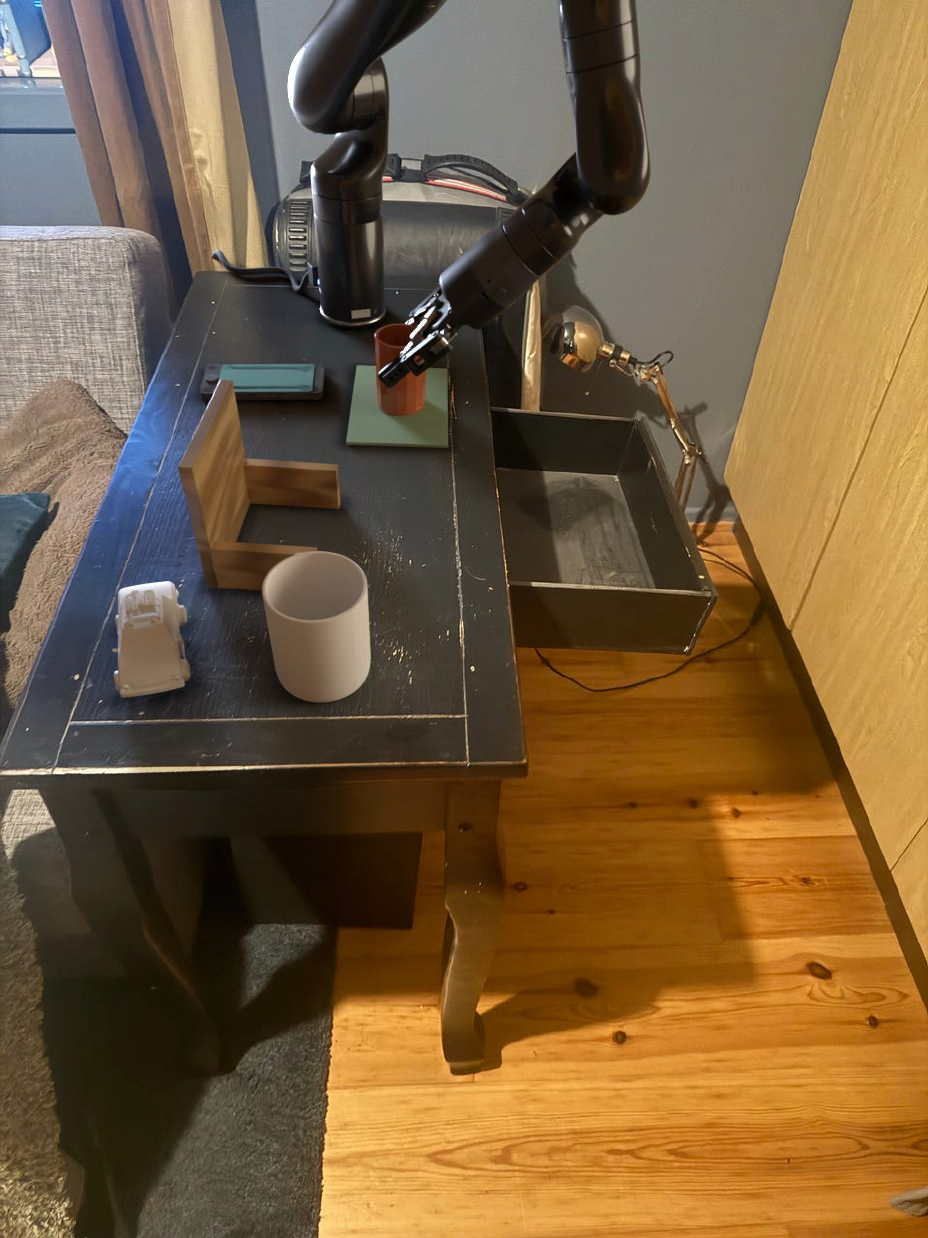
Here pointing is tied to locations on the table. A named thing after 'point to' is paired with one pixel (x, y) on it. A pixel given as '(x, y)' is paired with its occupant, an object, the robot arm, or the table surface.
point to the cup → (409, 389)
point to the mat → (398, 430)
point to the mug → (318, 625)
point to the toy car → (150, 640)
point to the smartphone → (266, 381)
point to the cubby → (242, 495)
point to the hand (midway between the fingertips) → (386, 366)
